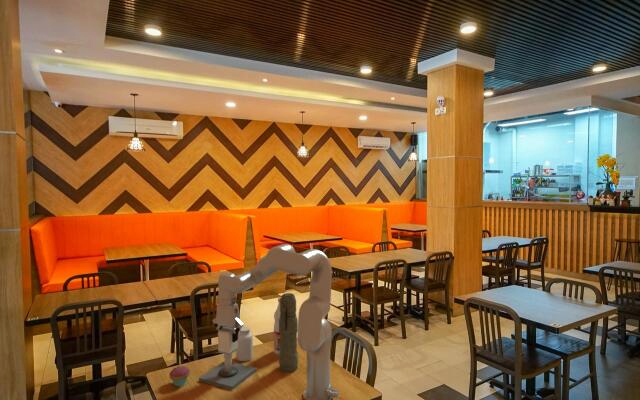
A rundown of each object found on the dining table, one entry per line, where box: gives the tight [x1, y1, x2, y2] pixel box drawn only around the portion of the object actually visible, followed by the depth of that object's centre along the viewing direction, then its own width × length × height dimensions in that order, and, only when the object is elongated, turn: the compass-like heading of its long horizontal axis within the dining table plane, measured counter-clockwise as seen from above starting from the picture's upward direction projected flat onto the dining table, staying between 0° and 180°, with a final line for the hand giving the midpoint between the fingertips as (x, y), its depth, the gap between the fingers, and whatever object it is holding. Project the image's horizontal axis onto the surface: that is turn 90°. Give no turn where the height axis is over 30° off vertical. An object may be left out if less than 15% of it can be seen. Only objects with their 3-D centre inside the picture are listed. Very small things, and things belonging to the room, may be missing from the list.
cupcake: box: [169, 354, 191, 387], centre depth 169 cm, size 9×8×12 cm
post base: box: [198, 353, 257, 391], centre depth 176 cm, size 18×18×12 cm
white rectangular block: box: [217, 326, 238, 355], centre depth 175 cm, size 6×6×10 cm
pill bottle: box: [235, 326, 254, 362], centre depth 194 cm, size 8×8×15 cm
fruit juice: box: [273, 297, 281, 356], centre depth 200 cm, size 9×9×28 cm
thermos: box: [278, 292, 299, 373], centre depth 183 cm, size 9×12×35 cm
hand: (227, 339), depth 175 cm, fingers open, 7 cm apart
